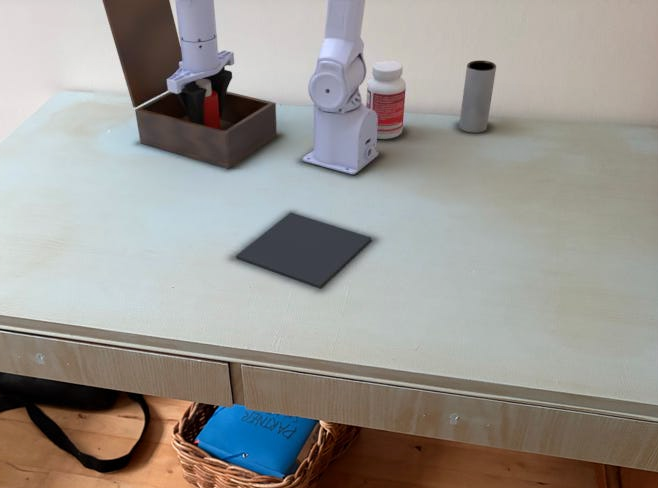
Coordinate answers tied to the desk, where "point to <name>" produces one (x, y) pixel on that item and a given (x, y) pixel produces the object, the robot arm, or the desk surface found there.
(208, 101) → the ketchup
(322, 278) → the mat
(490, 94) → the grey tube
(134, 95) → the brown box lid
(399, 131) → the pill bottle
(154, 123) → the brown wooden open box
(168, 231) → the desk surface
